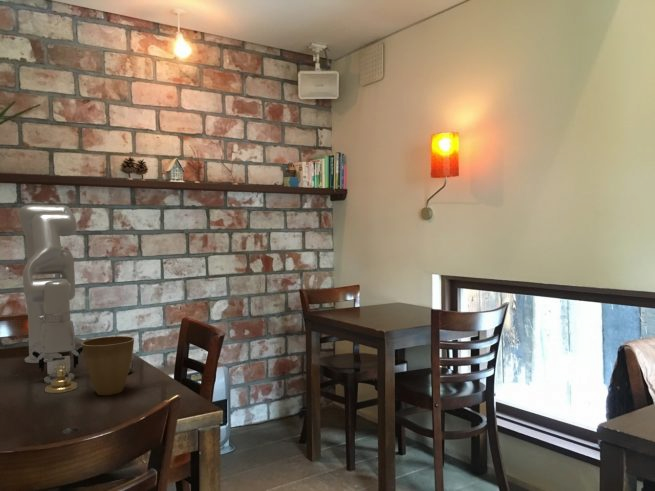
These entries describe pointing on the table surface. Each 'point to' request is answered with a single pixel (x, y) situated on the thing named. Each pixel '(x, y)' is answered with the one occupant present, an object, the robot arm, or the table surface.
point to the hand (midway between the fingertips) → (59, 368)
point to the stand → (53, 376)
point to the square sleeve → (58, 364)
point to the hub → (61, 383)
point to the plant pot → (108, 362)
